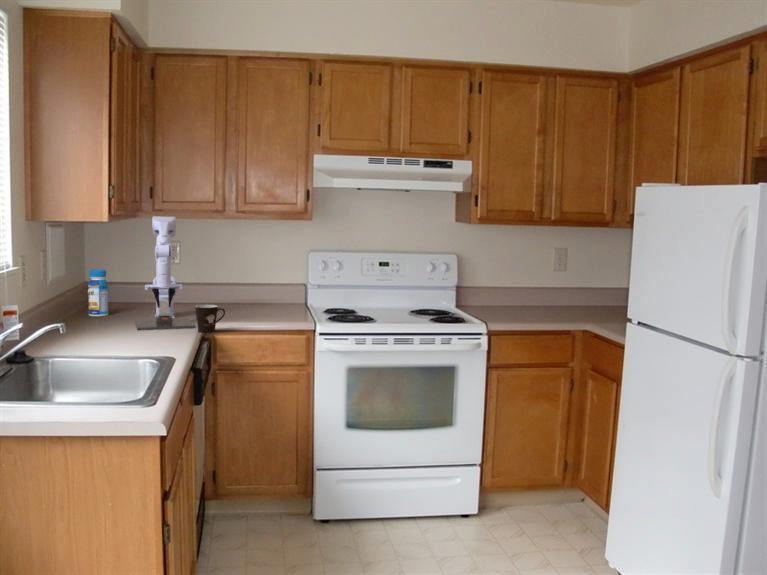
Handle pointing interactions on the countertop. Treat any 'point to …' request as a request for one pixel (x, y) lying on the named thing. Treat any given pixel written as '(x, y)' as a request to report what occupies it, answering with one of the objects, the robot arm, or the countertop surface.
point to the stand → (163, 323)
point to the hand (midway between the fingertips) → (163, 307)
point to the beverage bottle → (98, 293)
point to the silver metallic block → (164, 308)
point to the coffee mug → (207, 317)
